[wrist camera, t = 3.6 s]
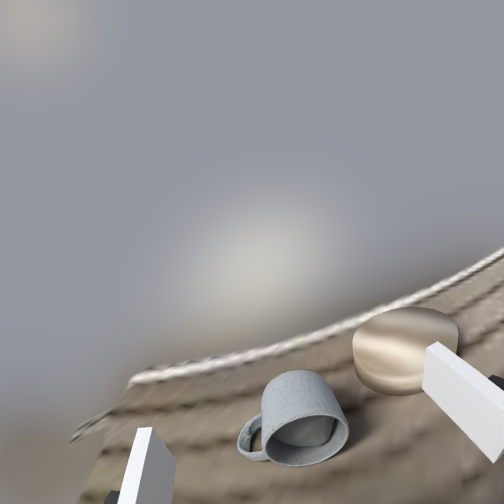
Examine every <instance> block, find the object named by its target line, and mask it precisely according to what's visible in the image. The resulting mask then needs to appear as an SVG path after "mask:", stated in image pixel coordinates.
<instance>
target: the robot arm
mask: <svg viewBox="0 0 504 504" xmlns="http://www.w3.org/2000/svg"><path fill="white" fill-rule="evenodd" d="M422 389H423V390H424V391H425V392H426V393H427V394H428V395H429V396H430V397H431V398H432V399H433V400H434V401H435V402H436V403H437V404H438V405H439V406H440V407H441V408H442V409H443V410H444V411H445V412H446V413H447V415H448V416H449V417H450V418H451V419H452V420H453V421H454V422H455V423H456V424H457V425H458V426H459V427H460V428H461V429H462V430H463V431H464V432H465V433H466V434H467V436H468V437H469V438H470V439H471V440H472V441H473V442H474V443H475V444H476V445H477V446H478V447H479V448H480V449H481V450H482V452H483V453H484V454H485V455H486V456H487V457H488V458H489V459H490V460H491V461H492V462H493V464H494V463H495V462H496V461H497V460H498V459H499V458H500V457H501V456H502V455H503V454H504V379H503V378H501V377H498V376H494V375H491V376H490V377H489V378H488V379H487V378H486V377H485V376H483V375H482V374H481V373H480V372H478V371H477V370H476V369H474V368H473V367H472V366H470V365H469V364H468V363H466V362H465V361H464V360H462V359H461V358H460V357H458V356H457V355H456V354H454V353H453V352H452V351H450V350H449V349H448V348H446V347H445V346H443V345H442V344H441V343H439V342H438V341H437V342H436V343H434V344H432V345H430V346H428V347H426V357H425V367H424V375H423V382H422ZM175 467H176V459H175V458H174V457H173V456H172V454H171V453H170V451H169V450H168V449H167V447H166V446H165V445H164V443H163V442H162V440H161V439H160V437H159V436H158V435H157V433H156V432H155V430H154V429H153V427H148V428H138V430H137V433H136V437H135V440H134V444H133V447H132V451H131V454H130V458H129V461H128V465H127V468H126V472H125V476H124V480H123V484H122V487H121V491H111V492H110V493H109V495H108V496H107V497H106V499H105V502H104V504H172V495H173V485H174V476H175Z"/></svg>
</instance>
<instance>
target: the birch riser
mask: <svg viewBox="0 0 504 504" xmlns="http://www.w3.org/2000/svg"><path fill="white" fill-rule="evenodd" d="M437 341H438V342H439V343H441V344H442V345H443V346H445V347H446V348H448V349H449V350H450V351H452V352H453V353H454V354H456V350H457V343H458V329H457V326H456V324H455V322H454V321H453V320H452V319H451V318H450V317H449V316H447V315H445V314H444V313H442V312H439V311H436V310H433V309H429V308H421V307H407V308H399V309H394V310H390V311H387V312H383V313H381V314H378V315H376V316H374V317H372V318H371V319H369V320H367V321H366V322H365V323H363V324H362V325H361V326H360V327H359V328H358V330H357V331H356V333H355V335H354V337H353V354H354V365H355V372H356V374H357V377H358V378H359V379H360V381H361V382H362V383H363V384H364V385H366V386H367V387H368V388H370V389H372V390H374V391H376V392H379V393H382V394H386V395H393V396H406V395H413V394H418V393H421V392H424V390H423V389H422V382H423V375H424V367H425V357H426V347H428V346H430V345H432V344H434V343H436V342H437Z"/></svg>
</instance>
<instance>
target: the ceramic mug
mask: <svg viewBox="0 0 504 504" xmlns="http://www.w3.org/2000/svg"><path fill="white" fill-rule="evenodd" d="M261 410H262V413H260V414H258V415H257V416H255V417H253V418H252V419H251V420H250V421H249V422H247V424H246V425H245V426H244V427H243V429H242V431H241V432H240V435H239V438H238V443H237V445H238V450H239V451H240V453H241V454H243V455H244V456H246V457H247V458H249V459H251V460H253V461H264V460H271V461H272V462H274V463H276V464H279V465H283V466H290V467H299V466H307V465H312V464H316V463H319V462H322V461H324V460H326V459H328V458H330V457H331V456H333V455H334V454H336V453H337V452H338V451H339V450H340V449H341V448H342V447H343V446H344V445H345V443H346V441H347V439H348V436H349V424H348V421H347V420H346V418H345V416H344V414H343V412H342V410H341V407H340V405H339V403H338V402H337V400H336V398H335V396H334V394H333V391H332V389H331V387H330V386H329V384H328V383H327V382H326V381H325V379H324V378H323V377H322V376H321V375H319V374H317V373H316V372H314V371H311V370H307V369H294V370H289V371H286V372H283V373H281V374H279V375H277V376H276V377H275V378H273V379H272V380H271V381H270V382H269V384H268V385H267V386H266V388H265V390H264V393H263V397H262V401H261ZM261 426H262V449H263V450H262V451H257V452H250V451H249V450H250V441H251V438H252V435H253V433H254V432H255V431H256V430H257V429H258V428H259V427H261Z"/></svg>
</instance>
